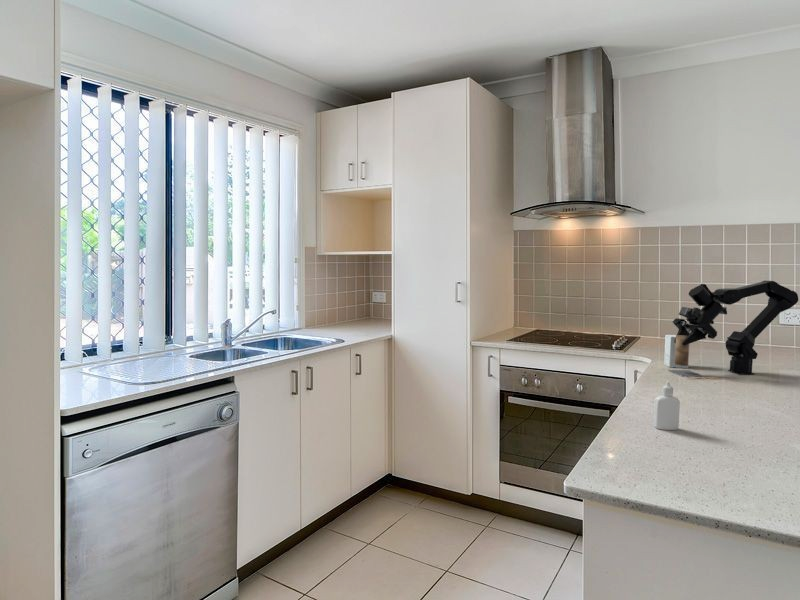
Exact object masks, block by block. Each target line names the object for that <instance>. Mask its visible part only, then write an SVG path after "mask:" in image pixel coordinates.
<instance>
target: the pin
mask: <svg viewBox="0 0 800 600" xmlns="http://www.w3.org/2000/svg"><path fill="white" fill-rule="evenodd" d="M675 335H676V346H675V365H681V366H687V365H688V366H689V363H688V350H689V351H690V344H687V345H683V344H682V343H683V341H684V340H685V339H686V337H687V336H685V335H677V334H675Z"/></svg>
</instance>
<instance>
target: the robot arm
mask: <svg viewBox="0 0 800 600" xmlns="http://www.w3.org/2000/svg"><path fill="white" fill-rule="evenodd" d="M761 294H765V295H766V296H767V297H768V299H767V300H768V301H767V305H766V307H764V308H763V310H761V312H760V313H758V315H757V316H755V318H754V319H752V321H751V322H750V323H749V324H748V325H747V326H746V327H745V328H744V329H743V330H741V331H736V330H734V331H733V332H732V333H731V335H729V336H728V337H726V339H727V340H725V343H724V344H725V349H726V350H727V353H728V356H730V357H731V358H730V361H729V369H727V371H728V372H730V373H734V374H736V375H755V372H753V360H756V359H757V357H758V352H757V351H756V350H755V348H754V346H755V342H756V339H757V337H758V336H759V335H760V334H761V333H762V332H763V331H765V329H766V328H768V326H769V325H770V324H771V323H772V322H773V320H774V319H776V318H777V317H778V315H780V314H781V313H782V312H785V311H787V310H790V309H791V308H793V307H794V306H795V305H797V303H798V302H799V294H798V293H797V292H796V291H795V290H791V289H790V288H789V287H788V288H787V287H786V286H783V285H781V284H779V283H778V282H776V281H774V280H761V281H760V282H755V283H752V284H748V285H744V286H740V287H732V288H726V287H725V288H717V289H715V290H714V291H713V292H712V291H711V290H710V289H709V288H708V285H707V284H705V283H701V284H699V285H697V286H695V287H694V288H693V287H692V288H691V289H690V290H689V292H688V296H689V297H690V298H691V299H692V300H693V301H694V302H695V303H696V305H697V306H699V307H702V308H701V309H700V308H699V307H695V306H694V307H693V308H692V307H691V308H690V307H687V306H682V307H681V308H680V311H678V312H679V313H678V315H679V316H683V317H684V318H686V319H684V318H675V319H674V320H672V323H673V325H674V326H675V327H676V328H677V329H678V330H677V333H676V335H685V336H687V337H686V339H685V340H684V341H683V343H682V344H683V345H687V344H689V345H690V344H692V343H695V342H698V341H702V340H706V339H707V338H708V339H712V340H714V339H715V338H716V337H717V336H718V331H717V330H716V329H715V328H714V327H713V324H715V321H714V320H715V319H716V318H717V317H718V316H719V315H725V316H726V315H728V310H727V307H726V306H723V305H728V306H729V305H730V306H731V305H734V304H736V303H738V302H740V301H741V300H742V299H744V298H747V297H753V296H756V295H761ZM706 336H707V337H706ZM674 342H675V343H676V338H675V340H674Z"/></svg>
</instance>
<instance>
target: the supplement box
mask: <svg viewBox="0 0 800 600" xmlns="http://www.w3.org/2000/svg"><path fill="white" fill-rule="evenodd" d="M676 335H677V334H665V338H664V340H665V341H664V356H663V357H664V358H663V364H664V365H665V366H667V367H668V368H673V367H676V368H677V369H689V364H690V363H689V359H690V349H689V350H688V365H687V366H681V365H675V346H676V343H675V342H674V340H675V338H676ZM676 368H675V369H676Z"/></svg>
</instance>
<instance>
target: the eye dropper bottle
mask: <svg viewBox="0 0 800 600" xmlns="http://www.w3.org/2000/svg"><path fill="white" fill-rule="evenodd" d="M661 394H662V395H659V396H657V397H655V399H654V408H653V409H654V410H653V411H654V412H653V427H655V428H656V429H657V430H662V431H677V430H678V429H679V426H680V424H679V423H680V399H679V398H677V397H675V396H674V387H673V386H672V385H671V382H670V381H666V383H665V385H664V386H663V385H662V392H661Z"/></svg>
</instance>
